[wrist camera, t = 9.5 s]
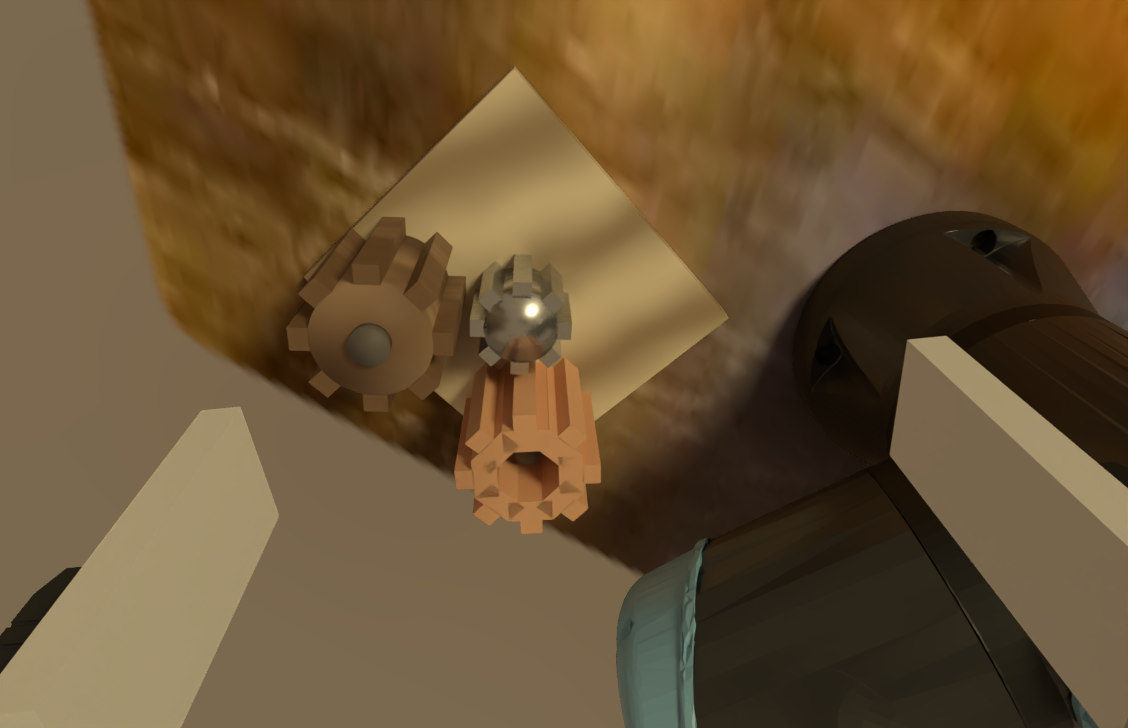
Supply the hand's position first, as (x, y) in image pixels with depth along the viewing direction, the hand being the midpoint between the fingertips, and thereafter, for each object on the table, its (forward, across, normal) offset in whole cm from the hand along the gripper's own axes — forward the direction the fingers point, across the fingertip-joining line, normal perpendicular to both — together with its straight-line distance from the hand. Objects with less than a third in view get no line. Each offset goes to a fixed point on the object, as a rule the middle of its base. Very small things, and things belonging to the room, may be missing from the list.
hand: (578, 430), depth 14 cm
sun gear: (+23, +2, +7) cm, 24 cm away
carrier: (+25, +2, +7) cm, 26 cm away
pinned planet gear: (+23, +8, +5) cm, 25 cm away
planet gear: (+23, +2, +13) cm, 27 cm away
